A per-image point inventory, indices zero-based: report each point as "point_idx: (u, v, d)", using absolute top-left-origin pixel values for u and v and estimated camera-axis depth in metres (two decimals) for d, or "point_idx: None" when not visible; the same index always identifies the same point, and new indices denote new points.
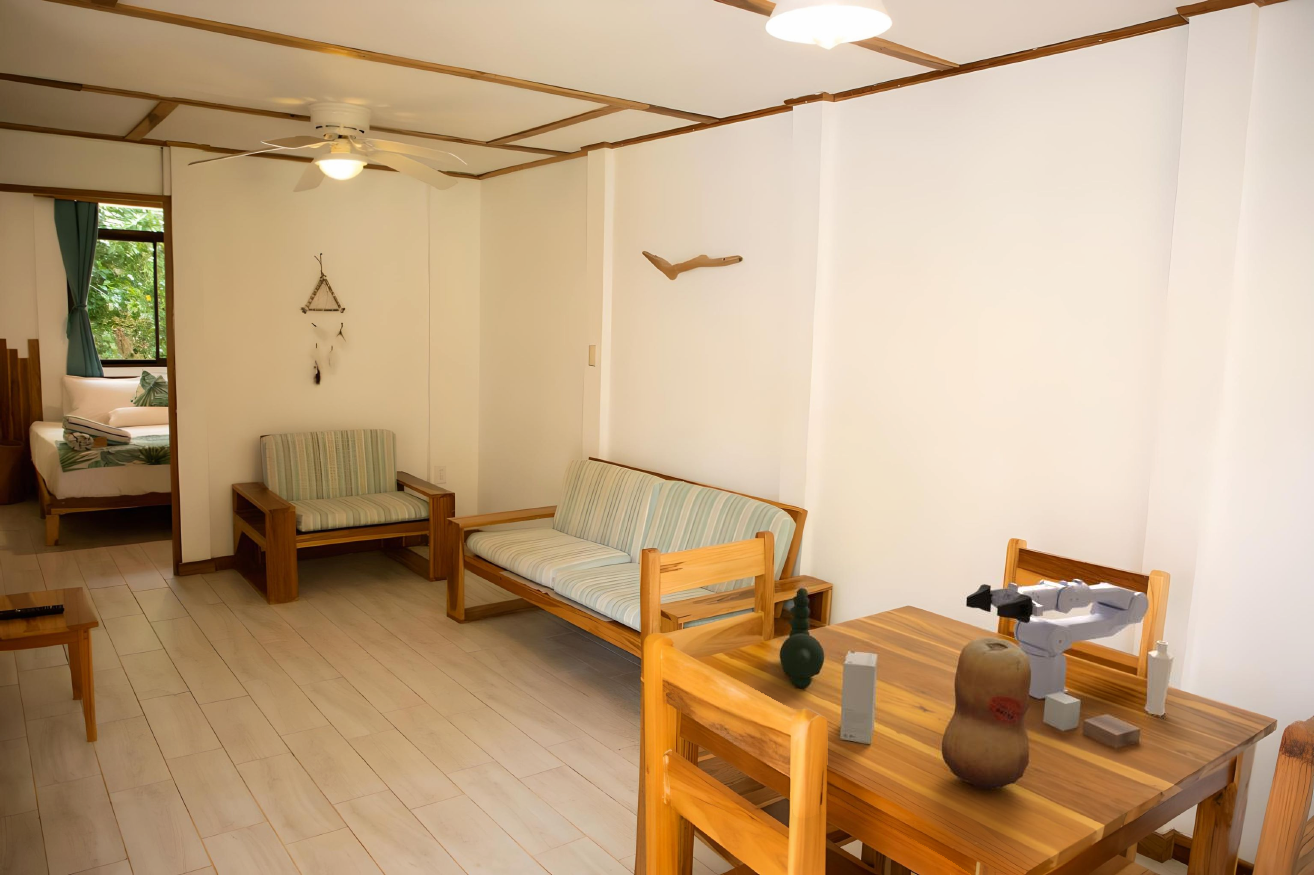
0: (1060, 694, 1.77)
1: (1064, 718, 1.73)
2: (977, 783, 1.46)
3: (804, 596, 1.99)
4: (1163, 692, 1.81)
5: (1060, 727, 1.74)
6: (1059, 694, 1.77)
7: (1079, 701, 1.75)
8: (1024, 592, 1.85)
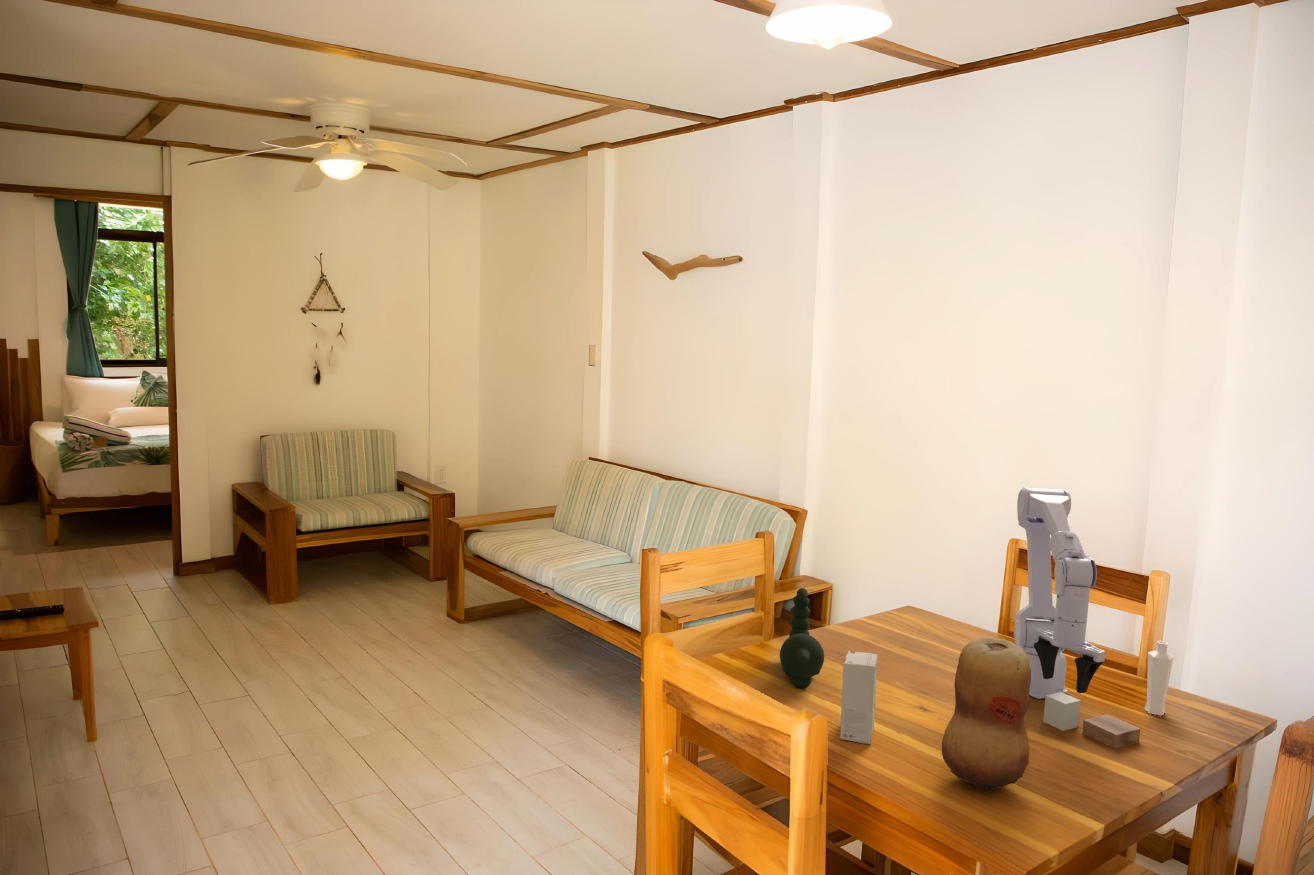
0: (1060, 694, 1.77)
1: (1064, 718, 1.73)
2: (977, 783, 1.46)
3: (804, 596, 1.99)
4: (1163, 692, 1.81)
5: (1060, 727, 1.74)
6: (1059, 694, 1.77)
7: (1079, 701, 1.75)
8: (1068, 637, 1.72)
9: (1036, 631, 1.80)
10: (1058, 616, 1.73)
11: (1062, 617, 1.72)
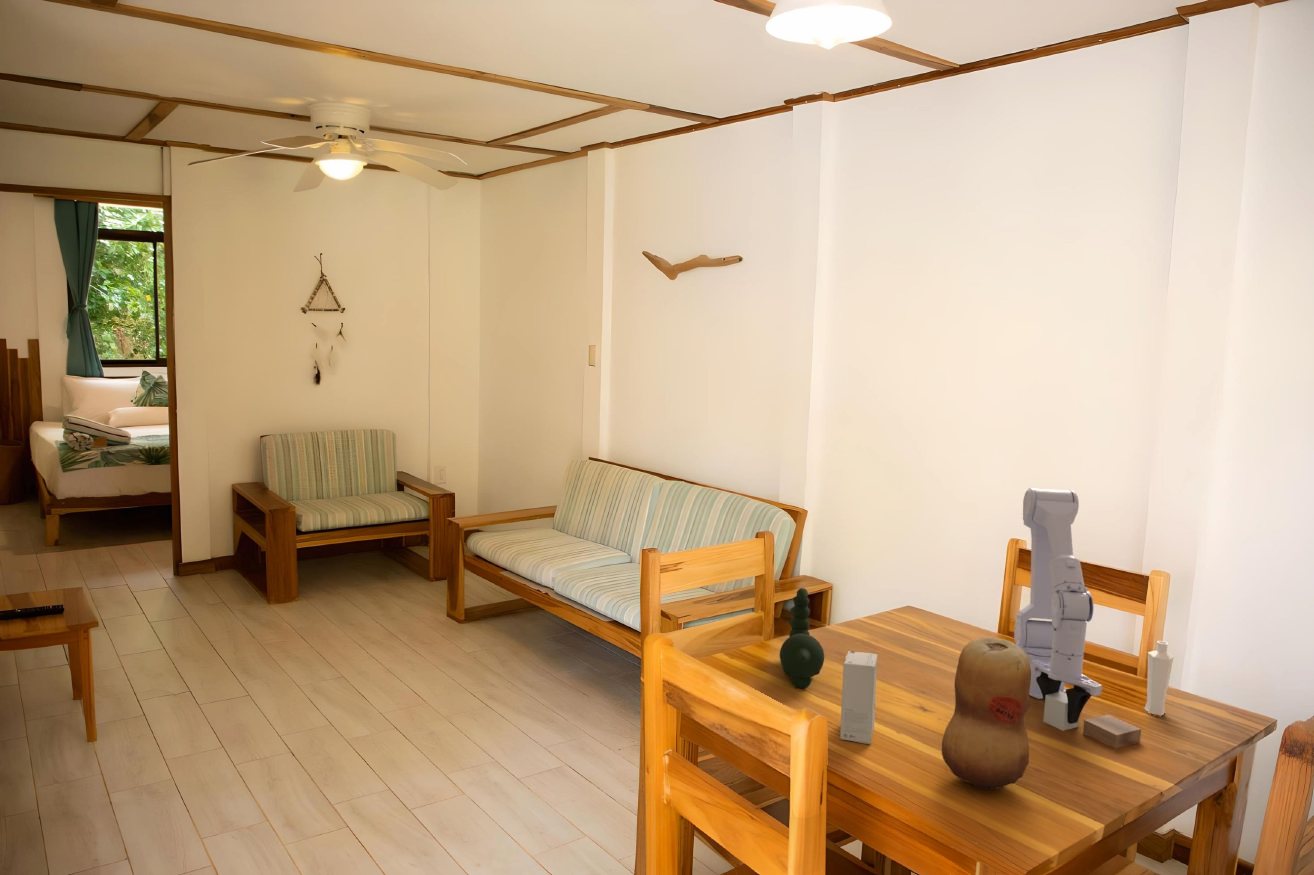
0: (1060, 694, 1.77)
1: (1064, 718, 1.73)
2: (977, 783, 1.46)
3: (804, 596, 1.99)
4: (1163, 692, 1.81)
5: (1060, 727, 1.74)
6: (1059, 694, 1.77)
7: None
8: (1065, 670, 1.72)
9: (1033, 663, 1.80)
10: (1055, 649, 1.74)
11: (1059, 650, 1.73)
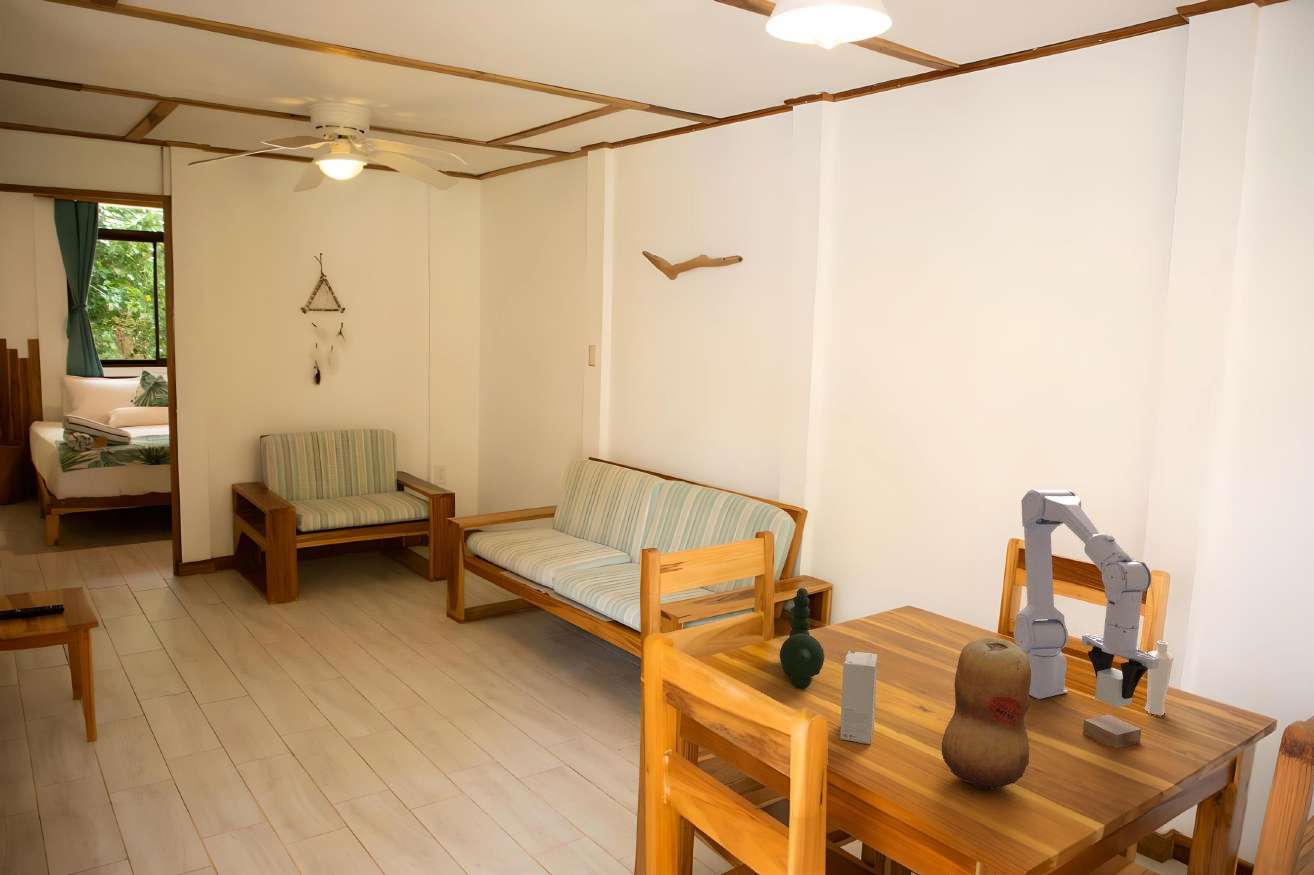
0: (1112, 670, 1.71)
1: (1118, 694, 1.67)
2: (977, 783, 1.46)
3: (804, 596, 1.99)
4: (1163, 692, 1.81)
5: (1113, 704, 1.68)
6: (1111, 670, 1.71)
7: None
8: (1120, 643, 1.66)
9: (1084, 637, 1.74)
10: (1113, 623, 1.67)
11: (1119, 624, 1.66)
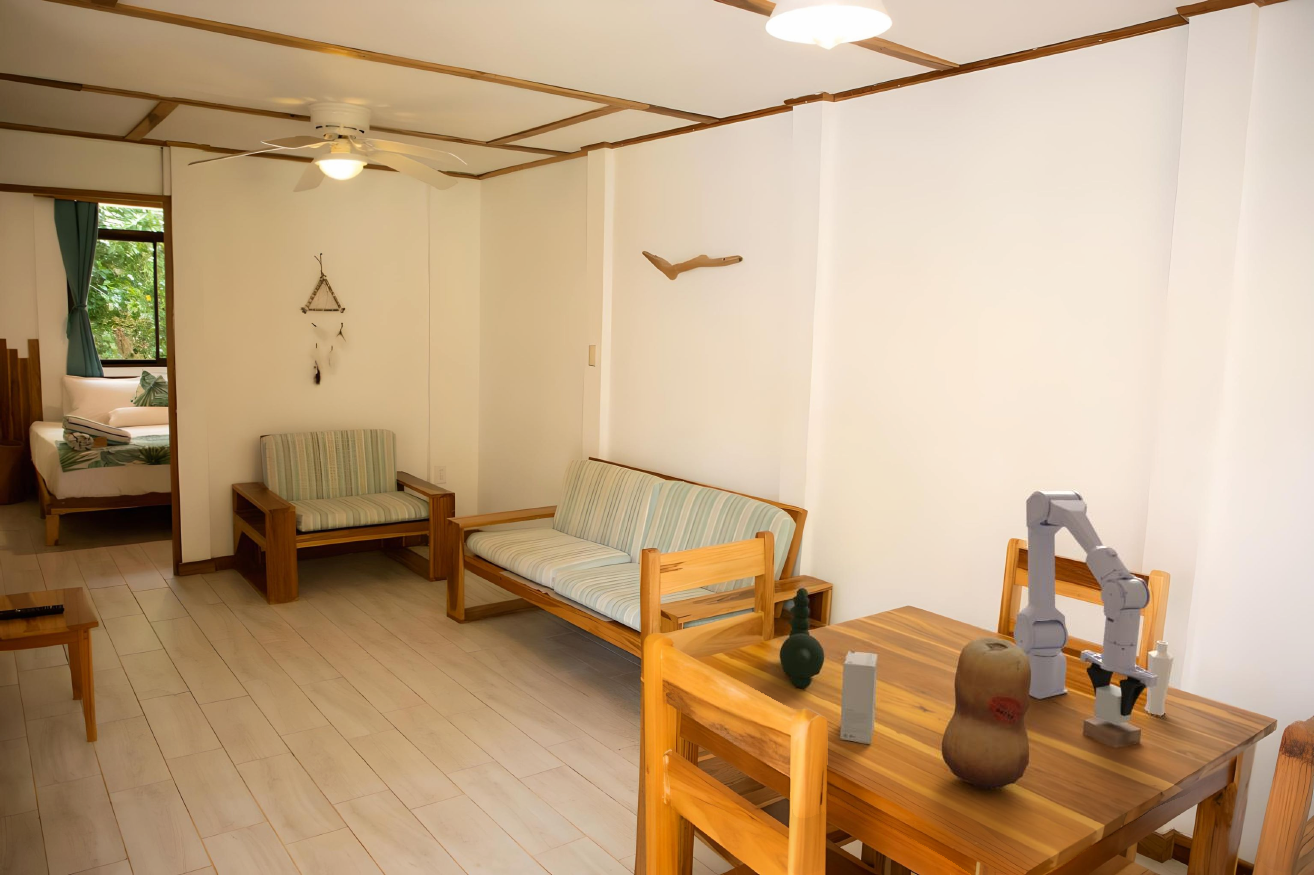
0: (1111, 687, 1.72)
1: (1116, 712, 1.67)
2: (977, 783, 1.46)
3: (804, 596, 1.99)
4: (1163, 692, 1.81)
5: (1112, 721, 1.68)
6: (1110, 687, 1.72)
7: None
8: (1118, 660, 1.67)
9: (1083, 653, 1.75)
10: (1112, 641, 1.67)
11: (1117, 641, 1.67)
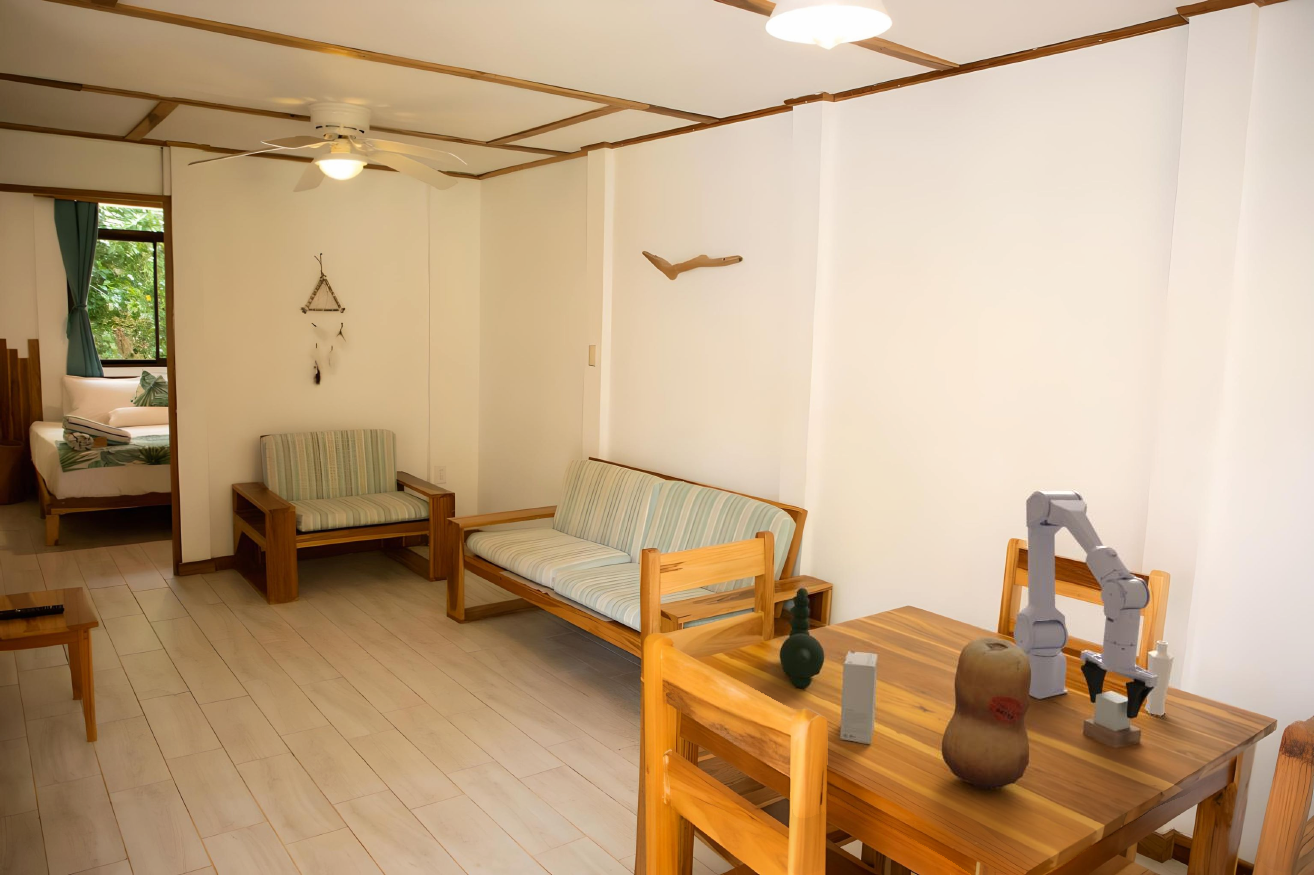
0: (1111, 693, 1.72)
1: (1116, 718, 1.68)
2: (977, 783, 1.46)
3: (804, 596, 1.99)
4: (1163, 692, 1.81)
5: (1112, 727, 1.68)
6: (1110, 693, 1.72)
7: None
8: (1118, 660, 1.67)
9: (1083, 653, 1.75)
10: (1112, 641, 1.67)
11: (1118, 641, 1.67)
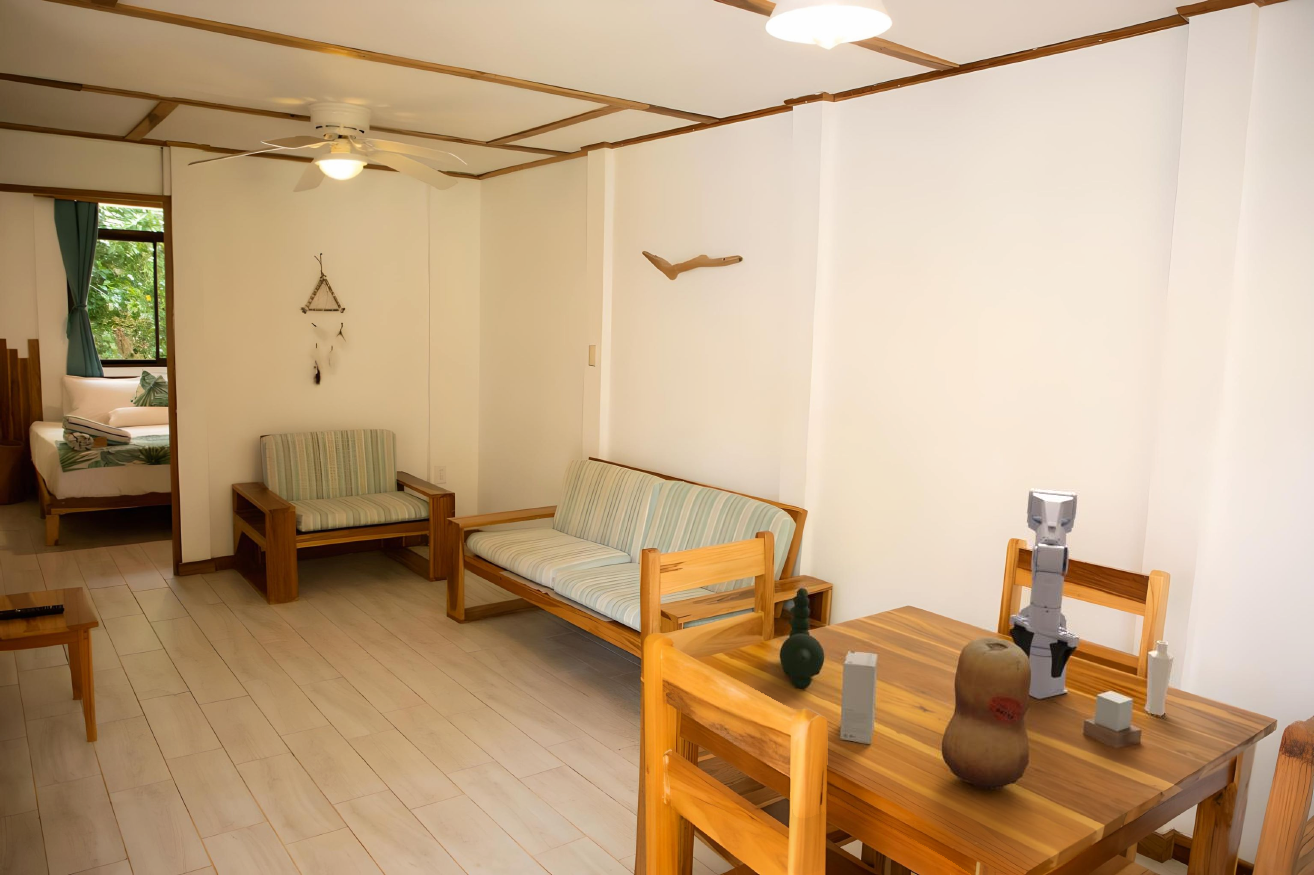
0: (1111, 693, 1.72)
1: (1118, 718, 1.67)
2: (977, 783, 1.46)
3: (804, 596, 1.99)
4: (1163, 692, 1.81)
5: (1114, 727, 1.68)
6: (1110, 693, 1.72)
7: (1132, 700, 1.69)
8: (1043, 623, 1.74)
9: (1012, 617, 1.82)
10: (1031, 601, 1.76)
11: (1033, 602, 1.75)
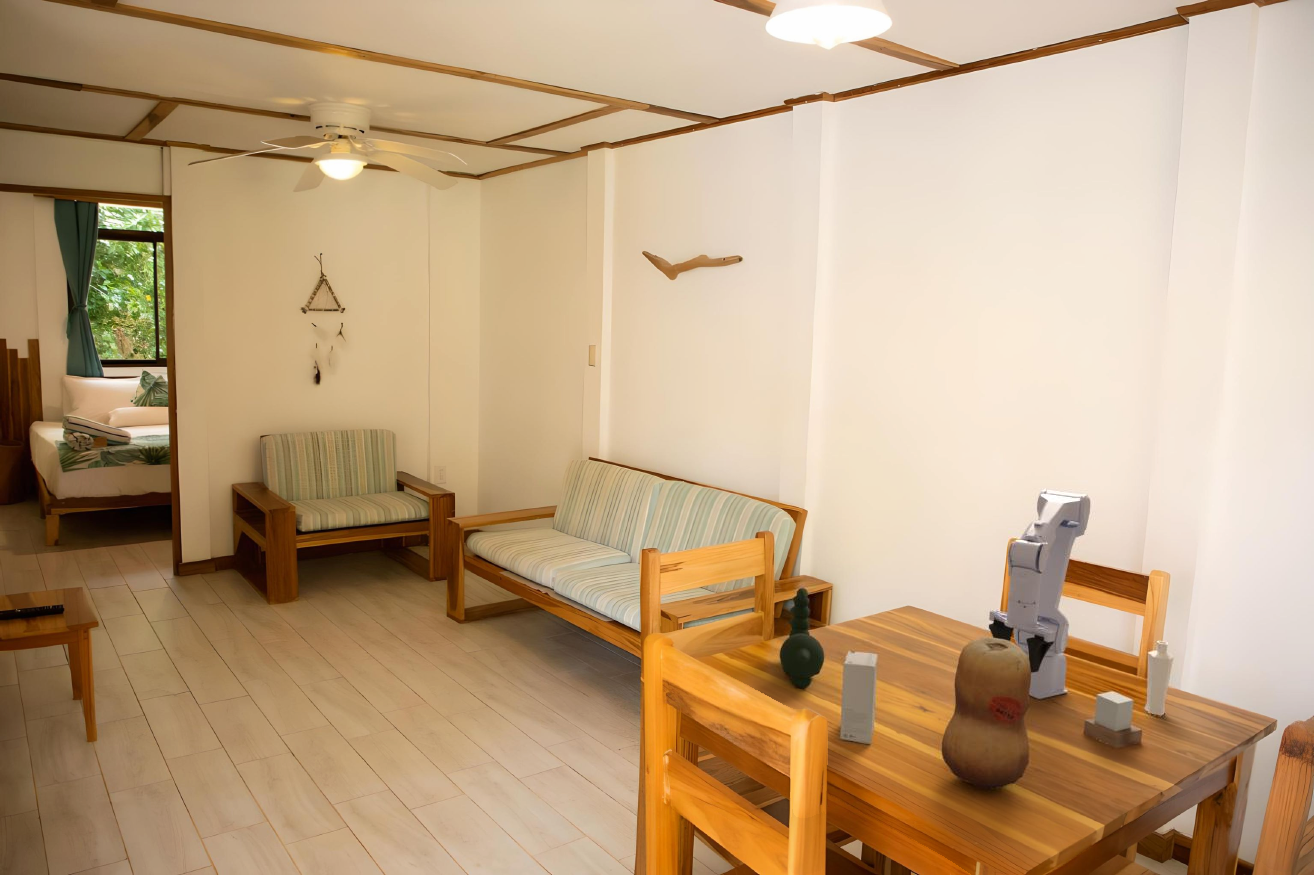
0: (1112, 693, 1.72)
1: (1117, 718, 1.67)
2: (977, 783, 1.46)
3: (804, 596, 1.99)
4: (1163, 692, 1.81)
5: (1112, 727, 1.68)
6: (1111, 693, 1.72)
7: (1132, 701, 1.69)
8: (1021, 618, 1.77)
9: (991, 613, 1.85)
10: None
11: (1009, 596, 1.78)
